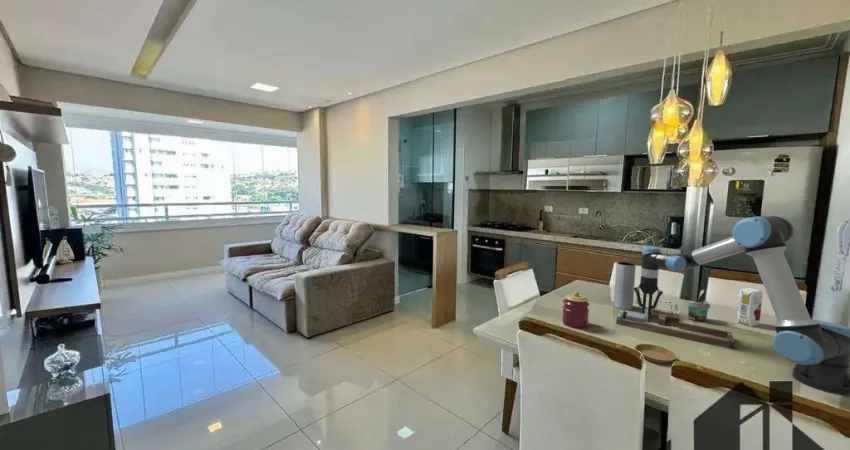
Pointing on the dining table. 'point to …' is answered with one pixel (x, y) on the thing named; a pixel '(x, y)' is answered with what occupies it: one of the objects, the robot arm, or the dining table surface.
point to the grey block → (635, 317)
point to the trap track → (679, 323)
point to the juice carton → (749, 306)
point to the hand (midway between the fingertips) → (646, 319)
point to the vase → (624, 285)
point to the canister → (575, 310)
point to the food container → (698, 311)
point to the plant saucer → (656, 353)
